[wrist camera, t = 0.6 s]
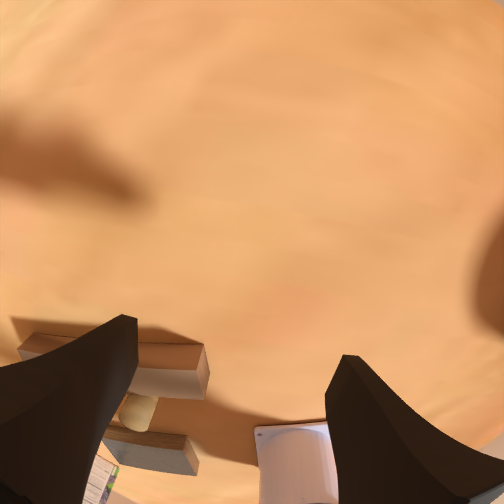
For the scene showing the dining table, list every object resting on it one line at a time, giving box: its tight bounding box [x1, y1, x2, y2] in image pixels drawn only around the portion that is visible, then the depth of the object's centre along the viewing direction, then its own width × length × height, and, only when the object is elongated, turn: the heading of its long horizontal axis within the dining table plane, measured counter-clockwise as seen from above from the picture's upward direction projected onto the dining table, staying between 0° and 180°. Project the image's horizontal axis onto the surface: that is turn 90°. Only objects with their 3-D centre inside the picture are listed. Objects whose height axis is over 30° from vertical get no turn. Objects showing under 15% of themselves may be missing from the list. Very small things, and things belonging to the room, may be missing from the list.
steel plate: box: [102, 425, 199, 476], centre depth 26 cm, size 6×10×2 cm, turn 95°
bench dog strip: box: [17, 333, 210, 432], centre depth 20 cm, size 5×18×5 cm, turn 94°
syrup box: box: [82, 455, 120, 504], centre depth 23 cm, size 6×6×14 cm
